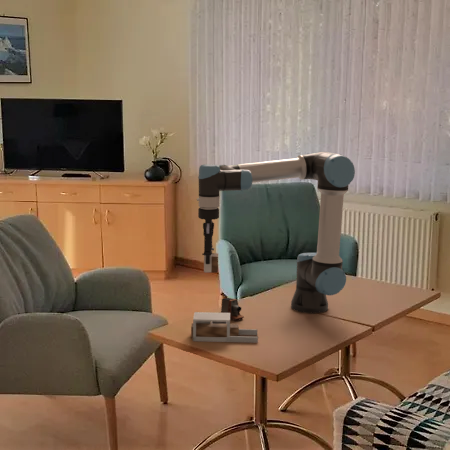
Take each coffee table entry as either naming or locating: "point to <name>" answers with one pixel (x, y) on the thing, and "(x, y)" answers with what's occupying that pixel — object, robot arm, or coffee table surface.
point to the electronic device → (231, 308)
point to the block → (214, 263)
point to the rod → (214, 330)
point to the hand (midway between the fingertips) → (208, 269)
